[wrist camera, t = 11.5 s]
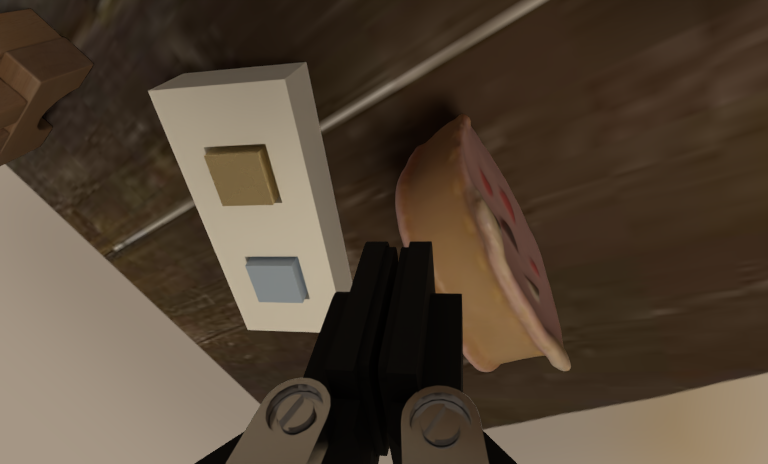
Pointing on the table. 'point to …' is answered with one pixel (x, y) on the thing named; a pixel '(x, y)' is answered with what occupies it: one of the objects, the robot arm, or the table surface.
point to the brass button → (242, 175)
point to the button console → (292, 173)
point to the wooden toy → (32, 79)
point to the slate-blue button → (277, 279)
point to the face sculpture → (479, 248)
